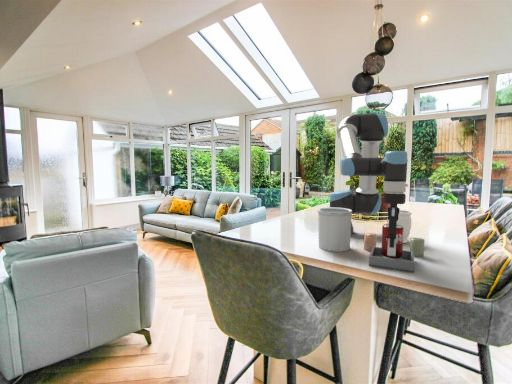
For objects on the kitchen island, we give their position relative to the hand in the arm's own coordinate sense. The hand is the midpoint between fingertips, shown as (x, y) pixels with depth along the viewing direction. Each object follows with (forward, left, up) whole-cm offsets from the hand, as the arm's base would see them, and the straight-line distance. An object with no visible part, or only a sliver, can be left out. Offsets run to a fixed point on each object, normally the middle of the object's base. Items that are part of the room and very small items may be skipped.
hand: (391, 252), depth 105 cm
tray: (0, 0, -4) cm, 4 cm away
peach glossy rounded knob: (-9, +15, -4) cm, 18 cm away
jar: (+2, +37, -4) cm, 37 cm away
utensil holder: (-24, +11, -4) cm, 27 cm away
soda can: (0, 0, -2) cm, 2 cm away
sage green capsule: (+9, +15, -4) cm, 18 cm away
